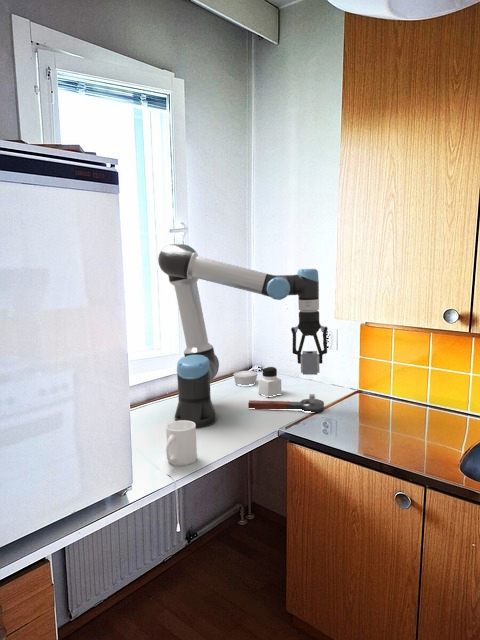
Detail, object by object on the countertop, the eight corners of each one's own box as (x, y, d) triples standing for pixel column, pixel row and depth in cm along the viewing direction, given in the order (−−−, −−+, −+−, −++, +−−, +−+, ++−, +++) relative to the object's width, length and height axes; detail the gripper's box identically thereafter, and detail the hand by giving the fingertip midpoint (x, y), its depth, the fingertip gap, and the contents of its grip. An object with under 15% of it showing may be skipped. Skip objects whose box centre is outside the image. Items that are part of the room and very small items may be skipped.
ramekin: (239, 380, 224) (239, 369, 224) (261, 382, 220) (260, 371, 219) (229, 386, 214) (229, 375, 214) (252, 388, 210) (252, 377, 209)
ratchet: (247, 411, 178) (247, 396, 178) (250, 404, 187) (250, 390, 186) (324, 414, 174) (324, 398, 173) (323, 406, 182) (323, 391, 182)
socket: (302, 374, 173) (302, 353, 172) (303, 371, 178) (302, 350, 177) (317, 374, 172) (317, 353, 171) (317, 371, 177) (317, 350, 176)
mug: (154, 468, 133) (152, 432, 131) (178, 452, 143) (176, 418, 142) (180, 473, 129) (178, 437, 127) (202, 456, 140) (201, 422, 138)
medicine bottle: (281, 395, 198) (281, 367, 197) (268, 398, 194) (268, 370, 193) (271, 391, 204) (271, 364, 203) (258, 394, 200) (257, 367, 199)
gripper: (283, 312, 170) (285, 374, 173) (334, 311, 167) (335, 374, 170) (284, 310, 177) (286, 369, 180) (333, 309, 174) (334, 369, 177)
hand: (310, 371), depth 175 cm, fingers closed on socket, 5 cm apart
